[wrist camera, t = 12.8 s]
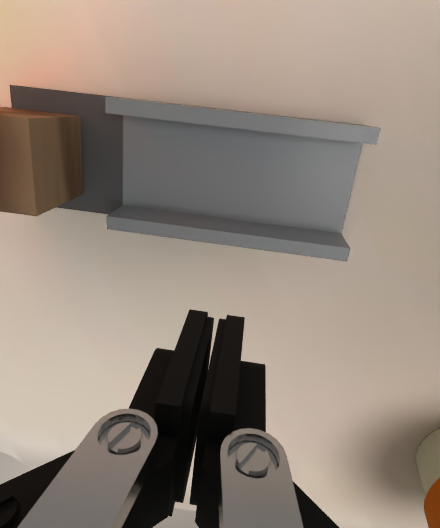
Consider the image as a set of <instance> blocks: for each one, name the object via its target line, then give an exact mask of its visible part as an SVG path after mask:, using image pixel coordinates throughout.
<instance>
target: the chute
mask: <svg viewBox="0 0 440 528" xmlns="http://www.w3.org/2000/svg"><path fill="white" fill-rule="evenodd" d="M105 110H106V113H110V114H119V115H123V205H122V206H121V207H119V208H118V209H116V210H115V211H114V212H112V213H111V214H109V215H108V216H107V229H111V230H118V231H126V232H133V233H141V234H148V235H155V236H163V237H170V238H178V239H185V240H193V241H200V242H207V243H215V244H222V245H230V246H237V247H245V248H252V249H259V250H267V251H274V252H282V253H289V254H296V255H304V256H311V257H319V258H326V259H334V260H341V261H347V260H348V256H349V252H350V247H349V246H348V244H347V242H346V241H345V239H344V237H343V236H342V234H341V233H342V229H343V225H344V220H345V216H346V212H347V208H348V204H349V199H350V195H351V191H352V187H353V183H354V178H355V174H356V170H357V166H358V162H359V157H360V153H361V149H362V145H363V143H368V144H377V141H378V137H379V133H380V129H381V128H377V127H371V126H366V125H357V124H348V123H340V122H331V121H322V120H313V119H304V118H296V117H287V116H278V115H269V114H260V113H252V112H243V111H234V110H225V109H216V108H208V107H199V106H190V105H181V104H172V103H163V102H155V101H146V100H137V99H128V98H115V97H105Z"/></svg>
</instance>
